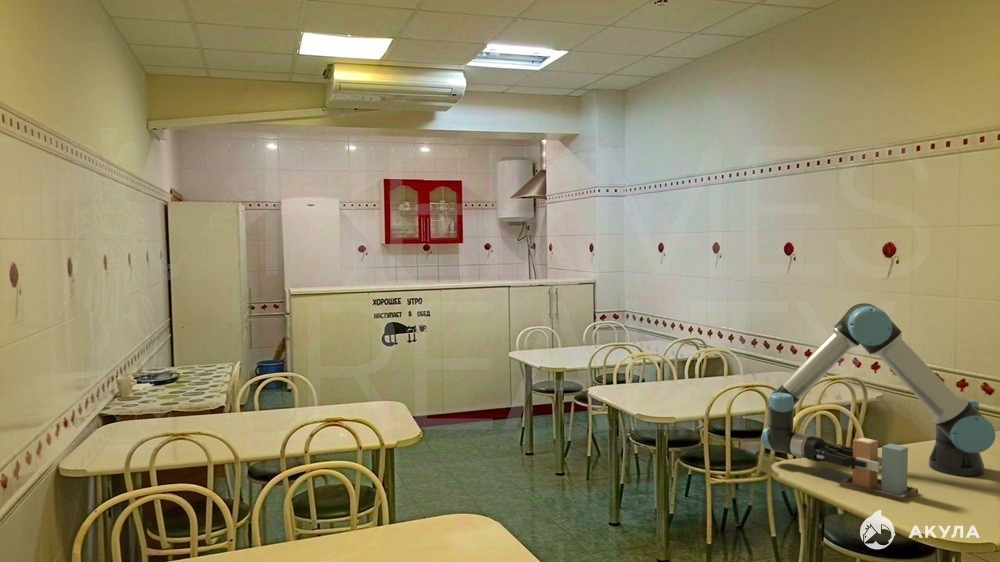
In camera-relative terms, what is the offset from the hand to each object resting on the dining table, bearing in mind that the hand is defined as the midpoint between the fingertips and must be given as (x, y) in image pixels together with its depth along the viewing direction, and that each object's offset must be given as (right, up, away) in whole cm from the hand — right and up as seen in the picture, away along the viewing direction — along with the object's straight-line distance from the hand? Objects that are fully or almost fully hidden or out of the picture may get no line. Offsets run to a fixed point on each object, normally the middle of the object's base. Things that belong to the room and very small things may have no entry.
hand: (883, 465), depth 209 cm
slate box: (+2, -8, -2) cm, 8 cm away
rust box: (-3, -7, +5) cm, 9 cm away
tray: (-1, -8, +2) cm, 8 cm away
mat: (-8, -8, +15) cm, 18 cm away
